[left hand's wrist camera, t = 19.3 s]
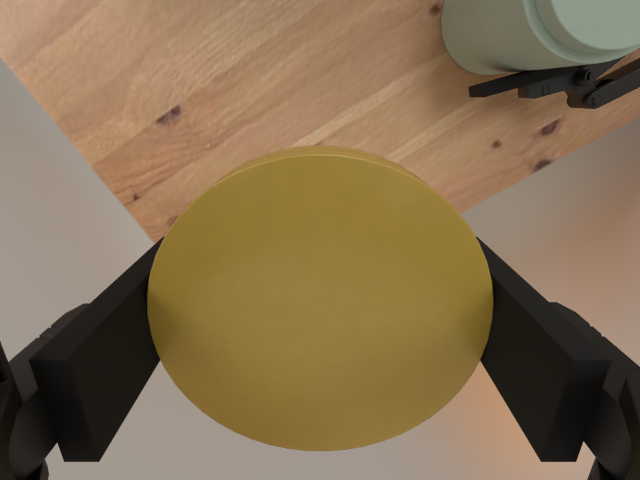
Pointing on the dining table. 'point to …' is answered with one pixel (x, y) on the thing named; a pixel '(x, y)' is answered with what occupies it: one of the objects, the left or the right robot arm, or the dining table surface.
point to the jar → (538, 33)
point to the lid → (320, 300)
